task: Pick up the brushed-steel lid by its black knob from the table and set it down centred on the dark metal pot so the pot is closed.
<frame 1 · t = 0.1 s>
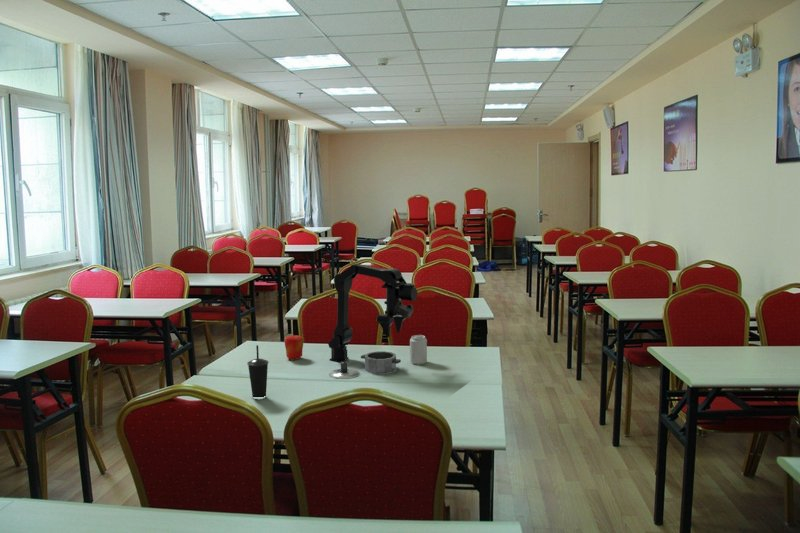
hand: (393, 334, 272), 15 cm above the table, fingers open, 9 cm apart
drinking cup: (259, 398, 238), on the table
can: (418, 363, 282), on the table
pot: (380, 369, 272), on the table
lid: (344, 375, 266), on the table
red bell pepper: (294, 359, 289), on the table
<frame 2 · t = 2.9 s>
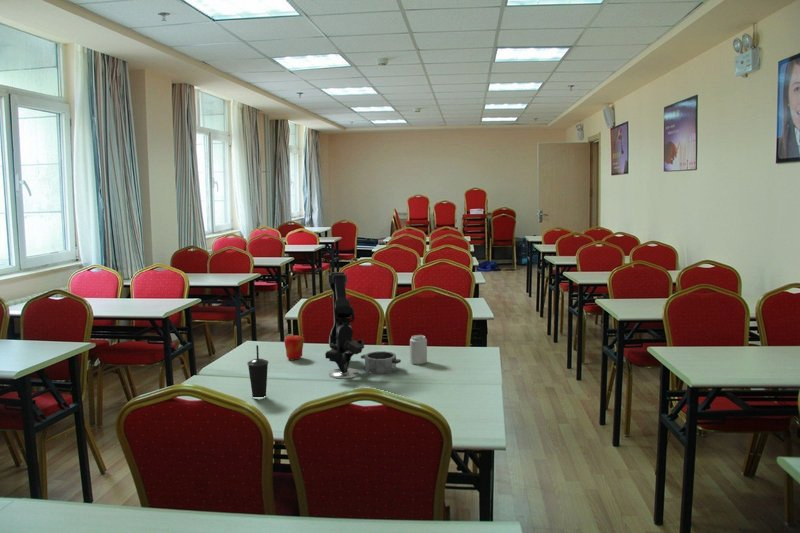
hand: (344, 370, 266), 2 cm above the table, fingers closed on lid, 3 cm apart
lid: (344, 374, 266), on the table, touching gripper
everything else where it was.
when the fingers open (9 cm above the table, at t = 5.6 s): lid drops 1 cm, resting on pot.
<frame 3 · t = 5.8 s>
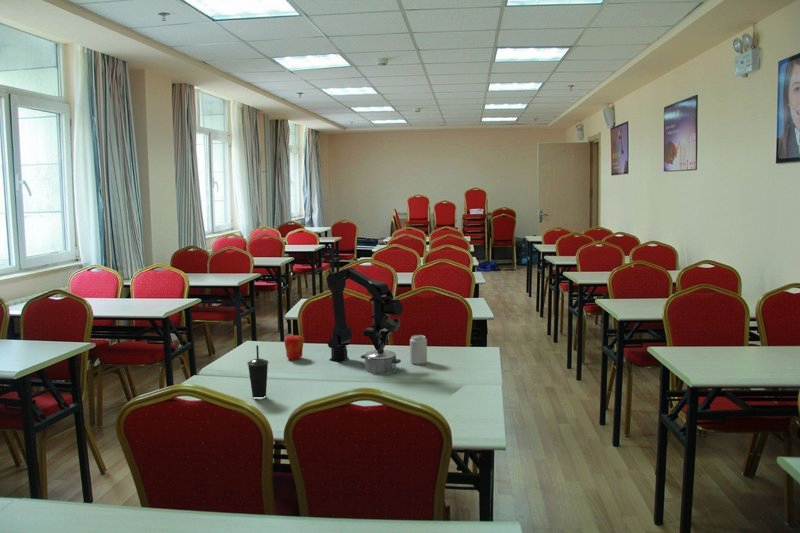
hand: (380, 348, 271), 9 cm above the table, fingers open, 5 cm apart
lid: (380, 355, 272), point 6 cm above the table, touching pot
everything else where it was.
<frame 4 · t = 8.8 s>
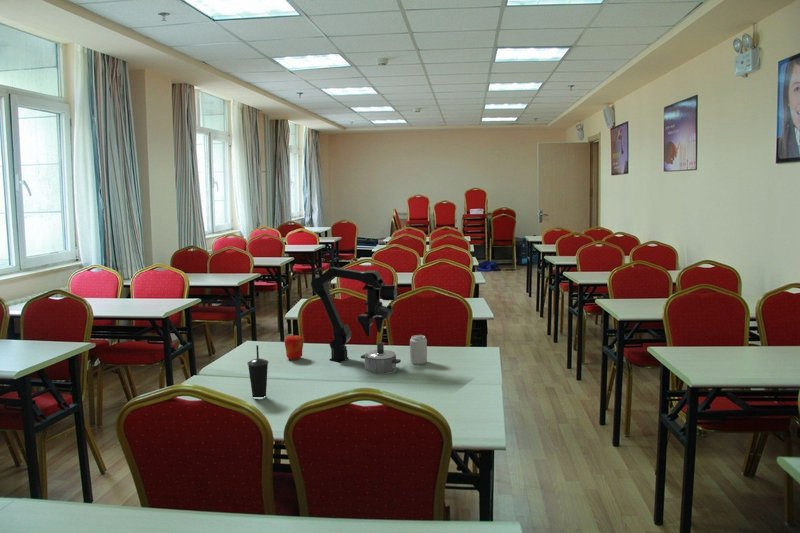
hand: (373, 334, 281), 13 cm above the table, fingers open, 9 cm apart
nothing on the table moved.
at the end: lid 0.0 cm off-centre on the pot, point 6.0 cm above the pot's base; lid tilted 0°; the gripper is holding nothing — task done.
